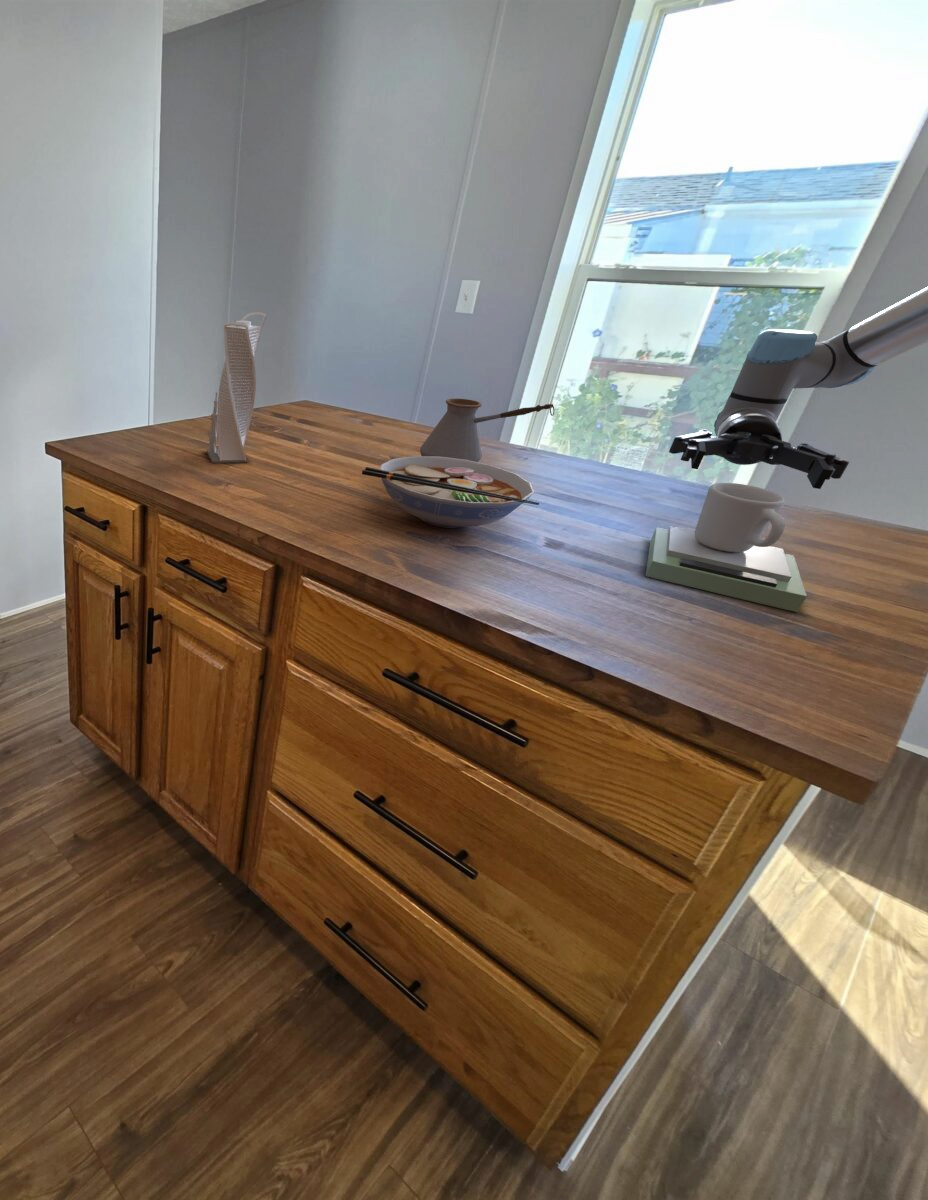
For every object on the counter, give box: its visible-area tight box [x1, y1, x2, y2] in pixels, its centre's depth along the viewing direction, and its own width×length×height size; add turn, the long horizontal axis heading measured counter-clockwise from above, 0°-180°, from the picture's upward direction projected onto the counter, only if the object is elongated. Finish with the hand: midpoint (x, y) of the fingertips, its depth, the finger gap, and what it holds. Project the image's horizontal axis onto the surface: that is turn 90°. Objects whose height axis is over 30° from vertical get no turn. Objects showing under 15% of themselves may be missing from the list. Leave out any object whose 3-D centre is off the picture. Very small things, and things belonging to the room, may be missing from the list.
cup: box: [694, 482, 786, 552], centre depth 90 cm, size 11×8×8 cm
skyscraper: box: [206, 311, 268, 464], centre depth 129 cm, size 8×8×28 cm
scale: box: [645, 525, 808, 613], centre depth 92 cm, size 16×15×3 cm
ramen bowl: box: [361, 455, 540, 529], centre depth 106 cm, size 25×23×8 cm
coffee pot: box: [419, 397, 556, 462], centre depth 126 cm, size 21×12×15 cm, turn 46°
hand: (757, 469), depth 94 cm, fingers open, 13 cm apart
